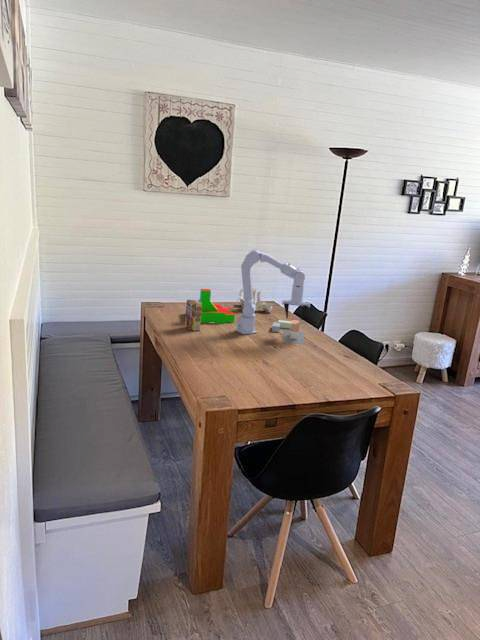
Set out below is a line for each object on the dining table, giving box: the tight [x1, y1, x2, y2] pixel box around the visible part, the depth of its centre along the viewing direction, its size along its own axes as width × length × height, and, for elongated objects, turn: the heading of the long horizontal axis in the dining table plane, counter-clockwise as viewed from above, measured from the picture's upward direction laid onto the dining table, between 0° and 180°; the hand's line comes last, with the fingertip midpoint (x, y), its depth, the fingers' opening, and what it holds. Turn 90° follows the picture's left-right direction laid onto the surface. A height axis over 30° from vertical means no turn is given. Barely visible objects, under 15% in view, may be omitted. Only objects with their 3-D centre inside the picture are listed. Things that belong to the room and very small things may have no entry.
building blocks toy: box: [197, 288, 235, 324], centre depth 274 cm, size 19×25×18 cm
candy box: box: [184, 298, 202, 332], centre depth 252 cm, size 9×4×15 cm, turn 39°
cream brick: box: [290, 330, 300, 339], centre depth 252 cm, size 8×4×4 cm, turn 174°
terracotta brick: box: [290, 319, 300, 332], centre depth 251 cm, size 8×4×4 cm, turn 174°
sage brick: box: [277, 319, 292, 330], centre depth 269 cm, size 8×4×4 cm, turn 84°
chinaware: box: [236, 287, 275, 313], centre depth 303 cm, size 28×17×17 cm, turn 58°
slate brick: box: [271, 321, 281, 333], centre depth 262 cm, size 8×4×4 cm, turn 174°
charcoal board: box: [282, 329, 306, 345], centre depth 253 cm, size 22×11×1 cm, turn 174°
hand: (294, 318), depth 251 cm, fingers open, 7 cm apart
